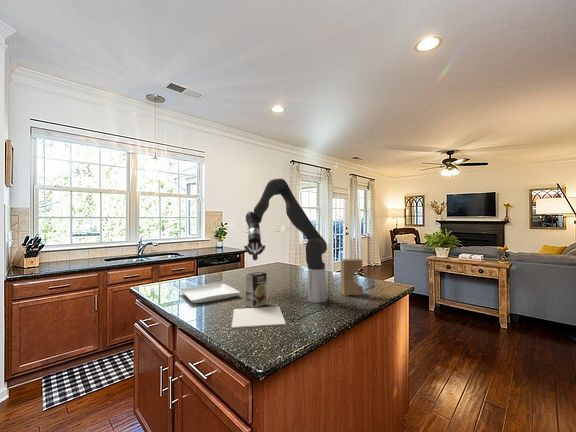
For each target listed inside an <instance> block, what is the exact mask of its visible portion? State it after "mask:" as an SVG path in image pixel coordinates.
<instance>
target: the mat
mask: <svg viewBox="0 0 576 432" xmlns="http://www.w3.org/2000/svg"><path fill="white" fill-rule="evenodd" d="M232 313H233V314H232V322H231V329H242V328H257V327H272V326H286V324H287V323H286V320H285V317H284V316H283V313H282V309H281V307H280V306H266V307H265V306H264V307H256V308H251V307H247V308H246V307H245V308H234V309H233V312H232Z"/></svg>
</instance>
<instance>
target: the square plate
mask: <svg viewBox="0 0 576 432" xmlns="http://www.w3.org/2000/svg"><path fill="white" fill-rule="evenodd" d="M178 291H179V292H180V293H181V294H183V296H185V297H187V299H188V300H189V301H191V303H193V304H204V303H208V302H209V301H210V302H215V301H220V300H225V299H230V298H234V297H236V296H238V295H240V294H241V291H240V290H238V289H235V288H234V287H232V286H231V285H228V284H225V283H214V284H205V285H199V286H198V285H196V286H193V287H186V288H181V289H178ZM203 302H204V303H203ZM210 302H209V303H210Z"/></svg>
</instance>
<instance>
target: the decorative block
mask: <svg viewBox="0 0 576 432" xmlns="http://www.w3.org/2000/svg"><path fill="white" fill-rule="evenodd" d="M362 269H363V259H361V258H342V259H340V292H341V295H343V297H348V296H349V295H353V296H363V294H364V293H363V291H364V289H363V288H364V287H363V286H362V285H360V284H358V283H356V282H355V280H354V275H355V273H356V272H357V271H359V270H362Z"/></svg>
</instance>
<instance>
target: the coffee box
mask: <svg viewBox="0 0 576 432" xmlns="http://www.w3.org/2000/svg"><path fill="white" fill-rule="evenodd" d="M267 280H268V279H267V272H264V271H263V272H261V271H256V272H252V273H251V272H250V273H246V274H245V307H247V308H260V307H262V306H265V305H267V300H268V299H267V298H268V296H267V291H268V290H267V284H268V283H267Z"/></svg>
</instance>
